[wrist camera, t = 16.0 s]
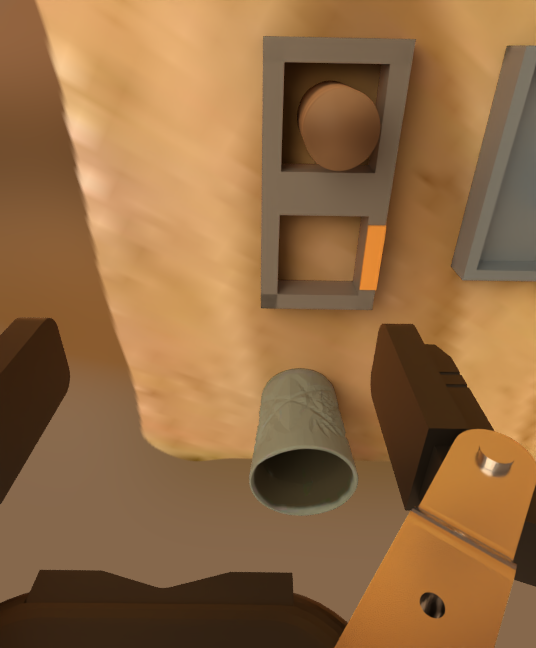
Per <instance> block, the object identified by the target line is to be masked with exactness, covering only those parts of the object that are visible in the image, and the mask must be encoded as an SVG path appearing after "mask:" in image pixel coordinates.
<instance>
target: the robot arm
mask: <svg viewBox="0 0 536 648" xmlns="http://www.w3.org/2000/svg"><path fill="white" fill-rule="evenodd" d="M69 381H70V371H69V366H68V363H67V359H66V355H65V352H64V348H63V345H62V341H61V337H60V334H59V330H58V327H57V324H56V322H55V321H54V320H53V319H51V318H17V319H16V320H14V321H13V323H12V324H11V325H10V326H9V327H8V328H7V329H6V330H5V331H4V332H3V333H2V334H1V335H0V504H1V503H2V501H3V500H4V498H5V496H6V495H7V493H8V491H9V489H10V488H11V486H12V484H13V483H14V481H15V479H16V478H17V476H18V474H19V473H20V471H21V469H22V467H23V466H24V464H25V462H26V461H27V459H28V457H29V456H30V454H31V452H32V450H33V449H34V447H35V445H36V444H37V442H38V440H39V438H40V437H41V435H42V434H43V432H44V430H45V429H46V427H47V425H48V423H49V422H50V420H51V418H52V416H53V415H54V413H55V412H56V410H57V408H58V407H59V405H60V403H61V401H62V400H63V398H64V396H65V395H66V393H67V390H68V387H69ZM371 395H372V399H373V403H374V406H375V410H376V413H377V416H378V420H379V423H380V427H381V430H382V433H383V437H384V440H385V443H386V447H387V450H388V454H389V457H390V460H391V463H392V467H393V471H394V474H395V477H396V481H397V484H398V487H399V491H400V494H401V498H402V501H403V504H404V507H405V510H411V511H410V513H409V514H408V516H407V518H406V520H405V521H404V523H403V525H402V527H401V529H400V530H399V532H398V534H397V536H396V538H395V539H394V541H393V543H392V545H391V547H390V549H389V550H388V552H387V554H386V556H385V557H384V559H383V561H382V563H381V565H380V566H379V568H378V570H377V572H376V574H375V575H374V577H373V579H372V581H371V583H370V584H369V586H368V588H367V590H366V592H365V593H364V595H363V597H362V599H361V601H360V603H359V604H358V606H357V608H356V609H355V611H354V613H353V615H352V617H351V619H350V620H349V622H348V623H347V621H345V620H344V619H343V618H341V617H340V616H339V615H337V614H336V613H335V612H334V611H332V610H330V609H329V608H327V607H326V606H324V605H322V604H321V603H319V602H316V601H314V600H312V599H310V598H307V597H305V596H302V595H299V594H296V593H293V578H292V573H265V572H263V573H262V572H229V573H225V574H221V575H217V576H214V577H210V578H205V579H201V580H197V581H194V582H189V583H186V584H181V585H177V586H174V587H169V588H158V587H154V586H150V585H147V584H144V583H140V582H137V581H134V580H131V579H128V578H124V577H121V576H118V575H114V574H111V573H108V572H105V571H86V570H84V571H83V570H82V571H81V570H40V571H39V573H38V575H37V577H36V580H35V582H34V584H33V586H32V589H31V591H30V592H29V593H25V594H22V595H19V596H17V597H14V598H11V599H9V600H6V601H4V602H2V603H0V648H494V647H495V644H496V640H497V637H498V633H499V630H500V626H501V623H502V619H503V616H504V612H505V609H506V605H507V602H508V598H509V595H510V591H511V588H512V584H513V581H514V580H517V581H520V582H523V583H526V584H530V585H533V586H536V461H535V460H534V458H533V456H532V455H531V454H530V453H529V451H528V450H526V449H525V448H524V447H523V446H522V445H521V444H519V443H518V442H517V441H515V440H513V439H512V438H510V437H508V436H506V435H504V434H501V433H498V432H495V431H494V429H493V428H492V426H491V424H490V423H489V421H488V419H487V417H486V416H485V414H484V412H483V411H482V409H481V407H480V406H479V404H478V402H477V401H476V399H475V397H474V395H473V394H472V392H471V390H470V389H469V388H467V384H466V382H465V380H464V379H463V377H462V375H460V372H459V370H458V368H457V367H456V365H455V363H454V362H453V360H452V358H451V357H450V356H449V355H447V354H446V353H445V352H444V351H442V350H441V349H440V348H439V347H437V346H436V345H429V344H424V342H423V341H422V339H421V337H420V335H419V333H418V331H417V329H416V327H415V326H414V325H413V324H382V325H381V326H380V328H379V332H378V338H377V343H376V349H375V355H374V361H373V366H372V372H371Z"/></svg>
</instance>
